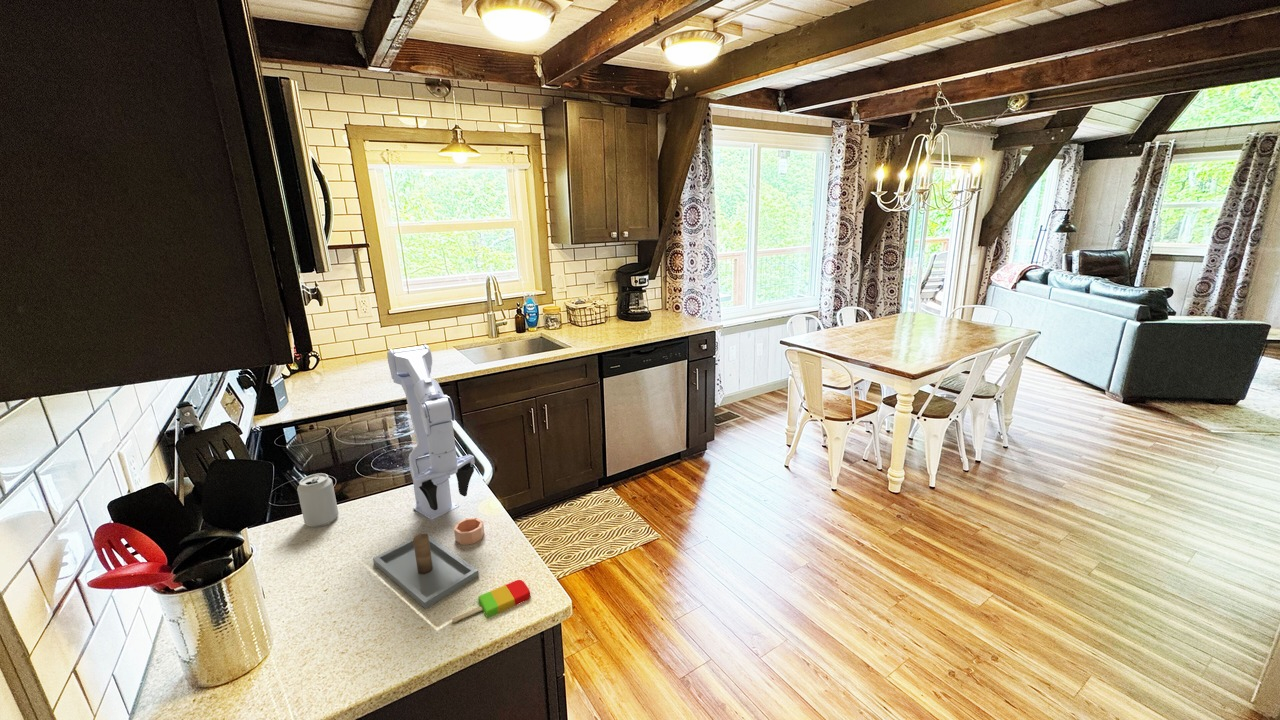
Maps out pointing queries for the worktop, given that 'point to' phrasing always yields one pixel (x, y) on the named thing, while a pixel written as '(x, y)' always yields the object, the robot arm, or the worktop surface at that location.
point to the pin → (422, 553)
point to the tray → (432, 585)
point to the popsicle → (499, 599)
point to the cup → (469, 531)
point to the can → (317, 500)
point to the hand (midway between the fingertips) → (449, 501)
